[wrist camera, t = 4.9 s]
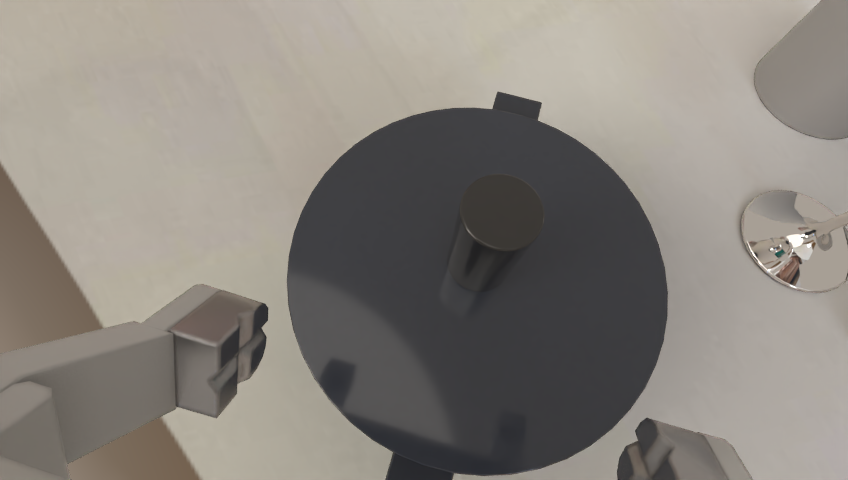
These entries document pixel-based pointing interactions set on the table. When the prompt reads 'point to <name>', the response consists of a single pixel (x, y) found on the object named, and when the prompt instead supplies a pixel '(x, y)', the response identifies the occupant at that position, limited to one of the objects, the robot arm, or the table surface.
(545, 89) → the table surface
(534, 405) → the pot lid
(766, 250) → the wineglass
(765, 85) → the cup
